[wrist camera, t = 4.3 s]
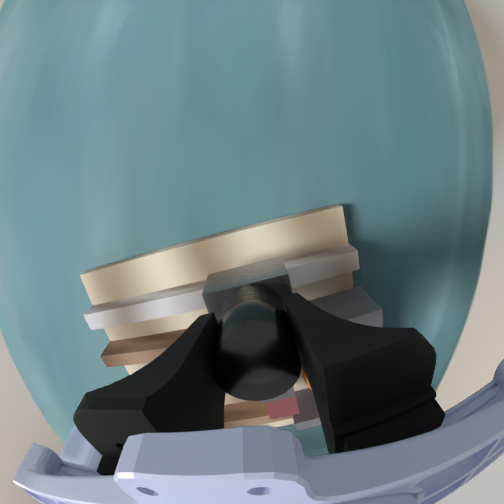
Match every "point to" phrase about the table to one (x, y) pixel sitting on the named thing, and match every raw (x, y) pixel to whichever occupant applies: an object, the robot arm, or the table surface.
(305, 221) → the beige grooved board
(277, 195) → the table surface
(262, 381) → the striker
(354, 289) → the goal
